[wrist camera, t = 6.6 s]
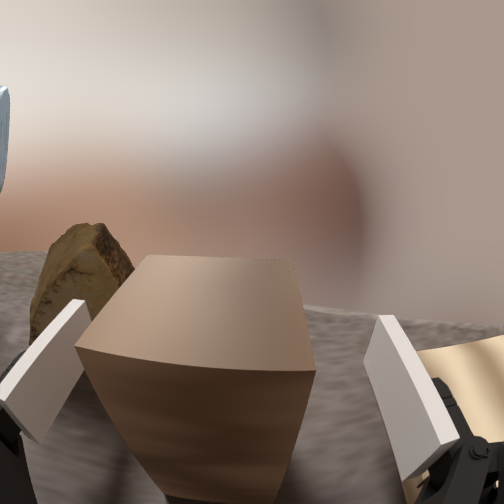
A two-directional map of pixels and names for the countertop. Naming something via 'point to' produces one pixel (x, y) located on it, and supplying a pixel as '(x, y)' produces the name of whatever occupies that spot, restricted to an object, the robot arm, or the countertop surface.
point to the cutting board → (468, 390)
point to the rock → (78, 274)
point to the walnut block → (205, 373)
